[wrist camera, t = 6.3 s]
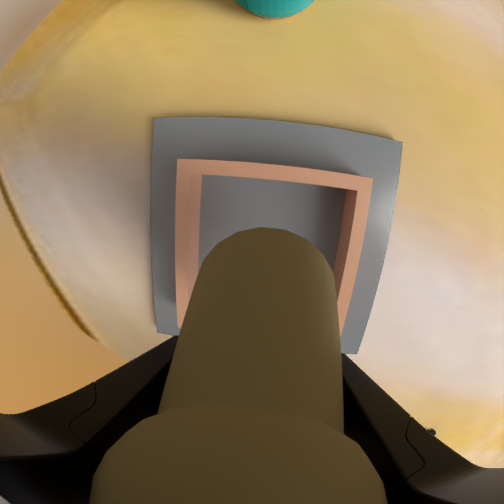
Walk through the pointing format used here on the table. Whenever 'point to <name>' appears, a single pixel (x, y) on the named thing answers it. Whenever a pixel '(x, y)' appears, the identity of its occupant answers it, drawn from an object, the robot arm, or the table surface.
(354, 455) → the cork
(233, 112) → the table surface
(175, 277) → the shaker socket
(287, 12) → the beverage can
